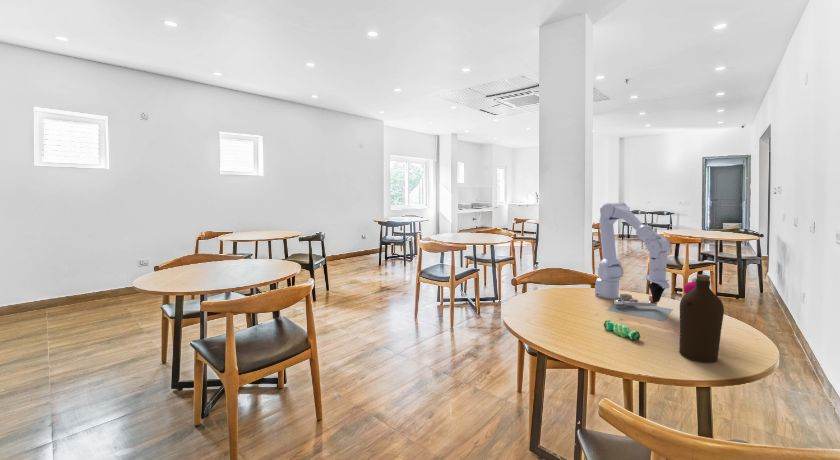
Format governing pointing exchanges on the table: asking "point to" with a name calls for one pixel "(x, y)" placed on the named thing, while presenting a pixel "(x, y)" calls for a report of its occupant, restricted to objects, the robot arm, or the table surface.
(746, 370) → the table surface
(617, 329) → the candy
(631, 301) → the lever
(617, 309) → the nutcracker base
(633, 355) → the table surface
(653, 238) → the robot arm
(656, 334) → the table surface
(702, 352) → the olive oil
